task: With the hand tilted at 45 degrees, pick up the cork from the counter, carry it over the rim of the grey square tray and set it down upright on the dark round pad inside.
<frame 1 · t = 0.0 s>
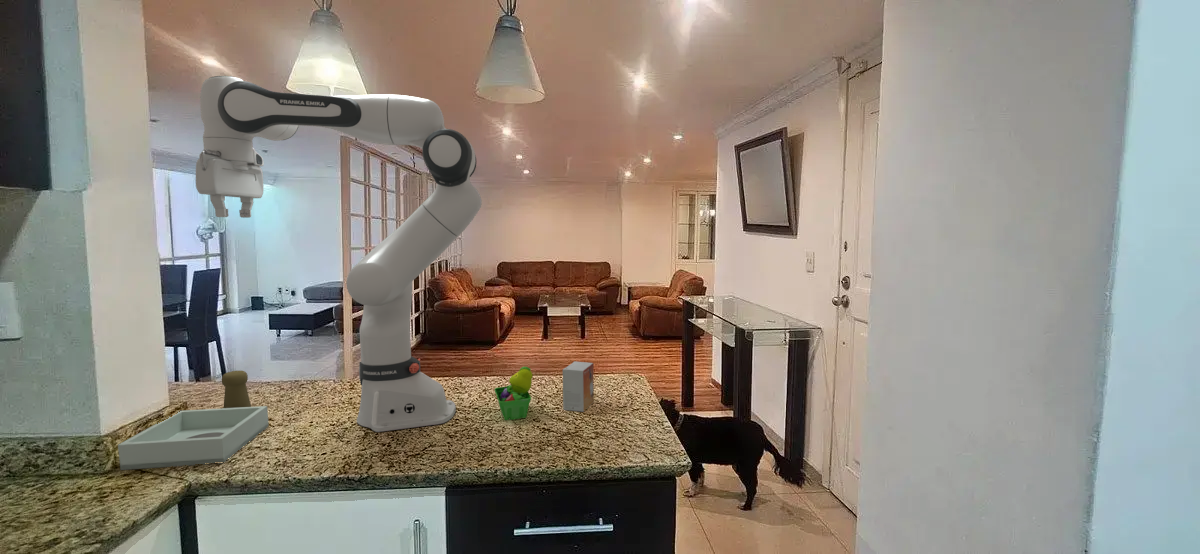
hand: (234, 217, 114), 48 cm above the worktop, tool pointing down, fingers open, 8 cm apart
fruit basket: (515, 413, 126), on the worktop
cork: (237, 416, 125), on the worktop
grey square tray: (201, 446, 108), on the worktop
small box: (578, 406, 131), on the worktop
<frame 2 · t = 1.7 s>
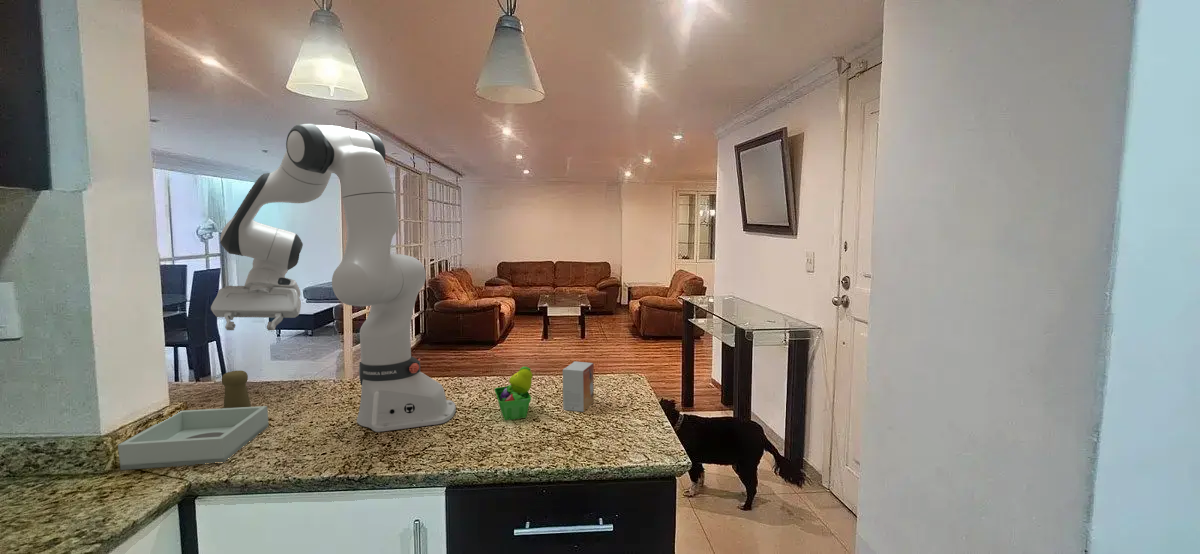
hand: (250, 329, 134), 19 cm above the worktop, tool tilted 45°, fingers open, 8 cm apart
nothing on the worktop moved.
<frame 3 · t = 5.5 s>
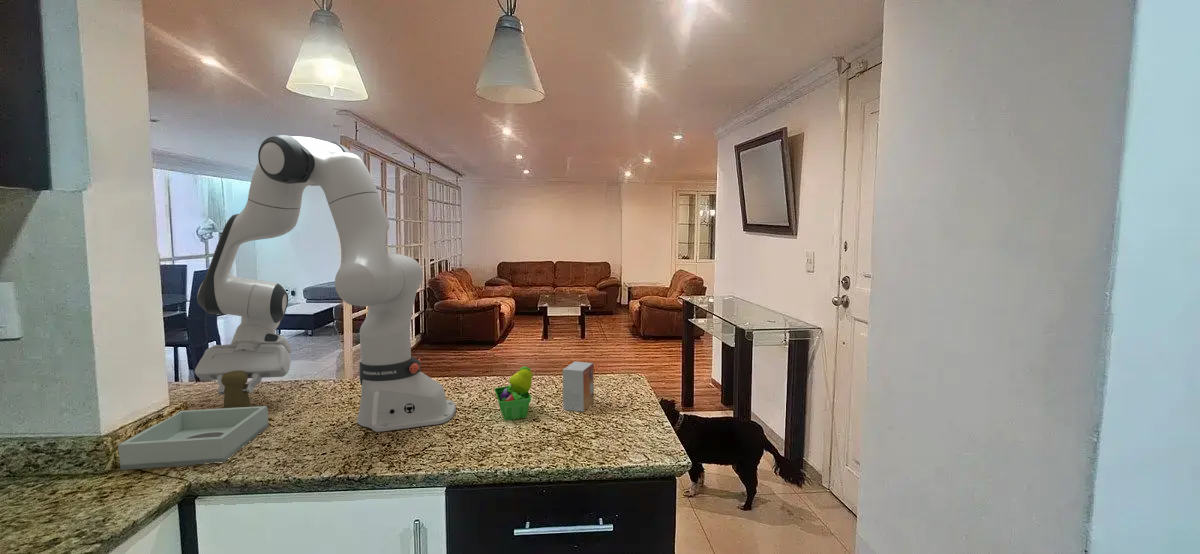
hand: (234, 393, 124), 6 cm above the worktop, tool tilted 45°, fingers closed on cork, 4 cm apart
cork: (237, 416, 125), on the worktop, touching gripper
everything else where it was.
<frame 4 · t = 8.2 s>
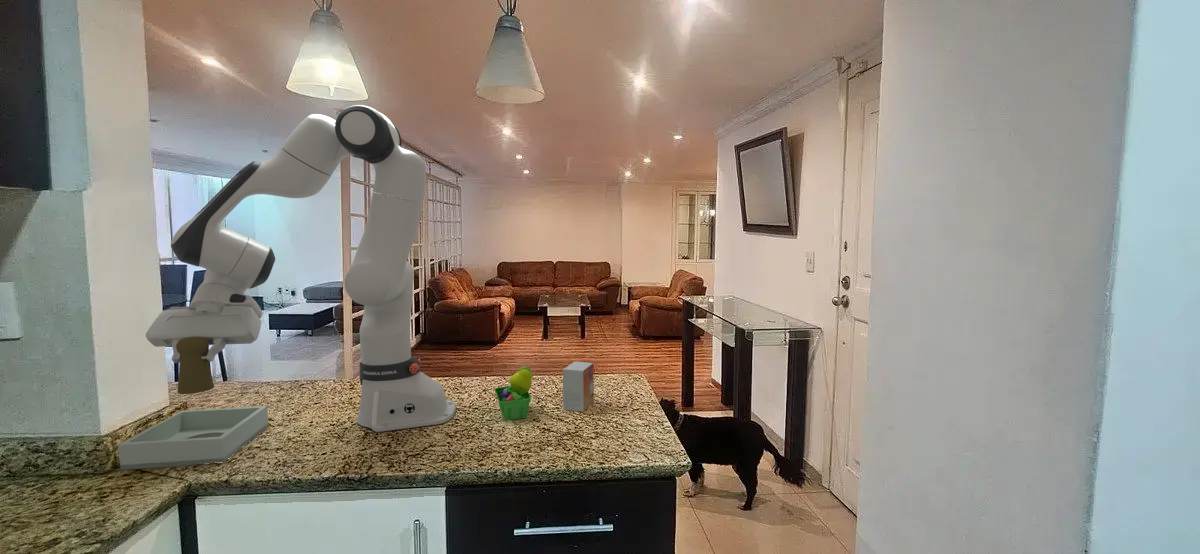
hand: (192, 360, 105), 19 cm above the worktop, tool tilted 45°, fingers closed on cork, 4 cm apart
cork: (196, 390, 107), point 12 cm above the worktop, touching gripper
everything else where it was.
when the fingers open (9 cm above the worktop, at t = 10.3 s): cork moves 3 cm, resting on grey square tray.
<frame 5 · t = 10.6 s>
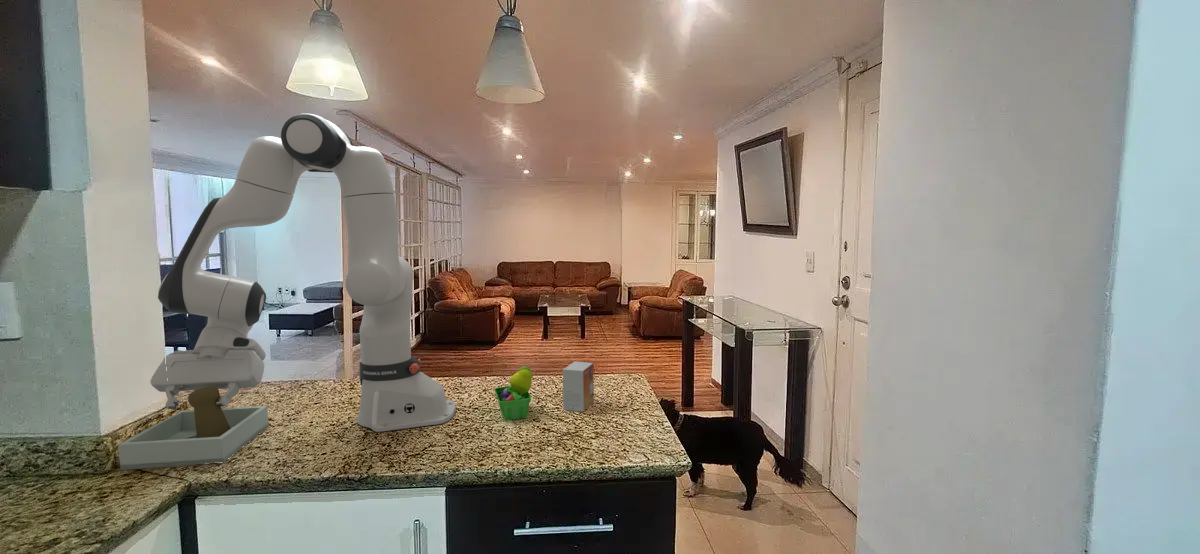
hand: (196, 406, 106), 9 cm above the worktop, tool tilted 45°, fingers open, 8 cm apart
cork: (215, 439, 108), point 2 cm above the worktop, touching grey square tray, gripper
everything else where it was.
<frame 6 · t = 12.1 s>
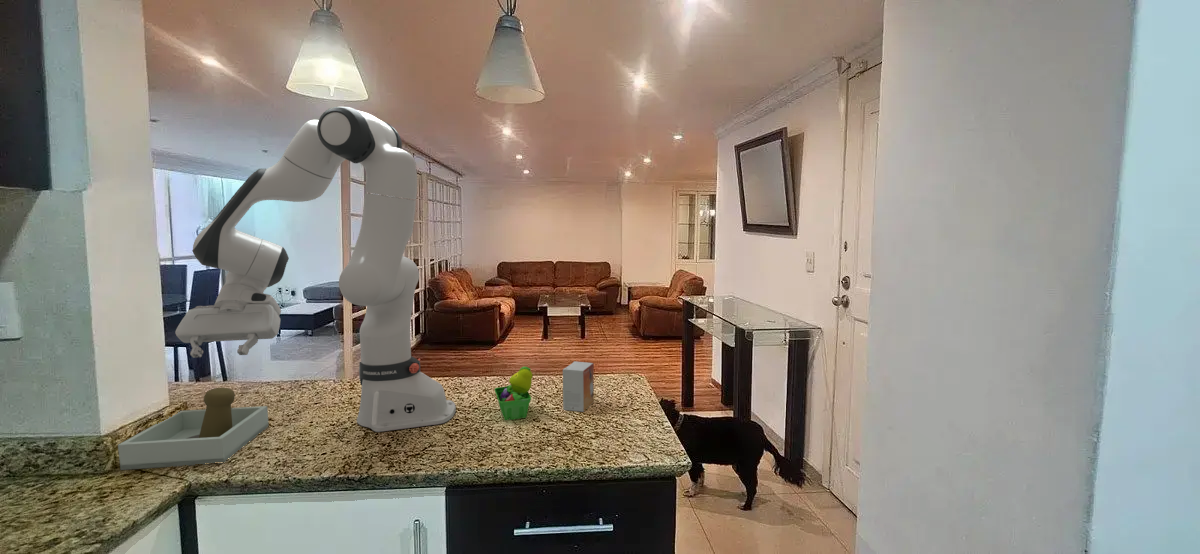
hand: (218, 355, 114), 17 cm above the worktop, tool tilted 45°, fingers open, 8 cm apart
cork: (215, 440, 108), point 1 cm above the worktop, touching grey square tray
everything else where it was.
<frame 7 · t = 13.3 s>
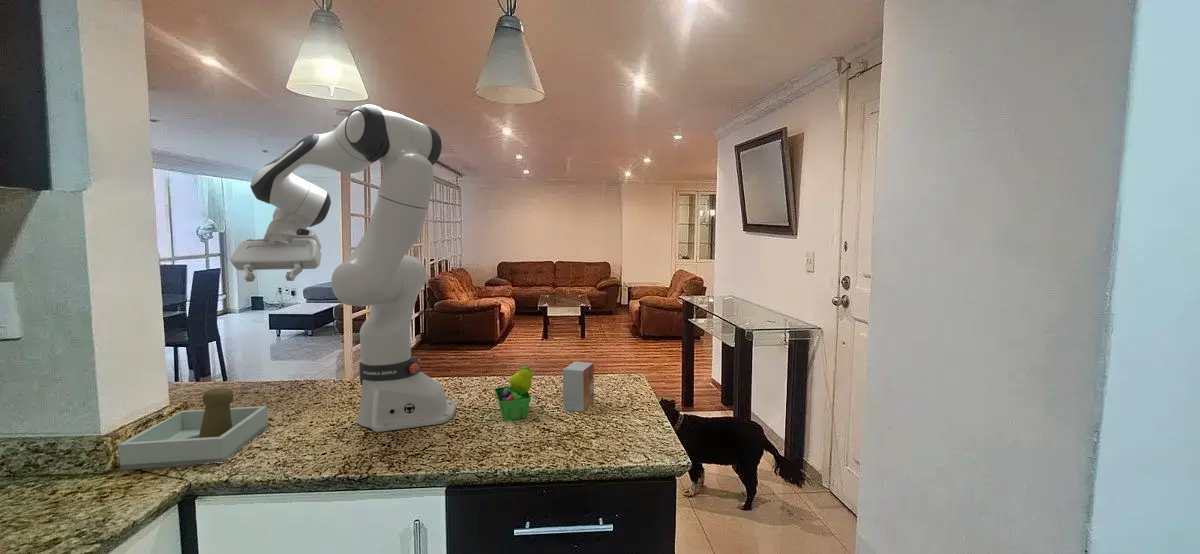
hand: (269, 279, 129), 33 cm above the worktop, tool tilted 45°, fingers open, 8 cm apart
nothing on the worktop moved.
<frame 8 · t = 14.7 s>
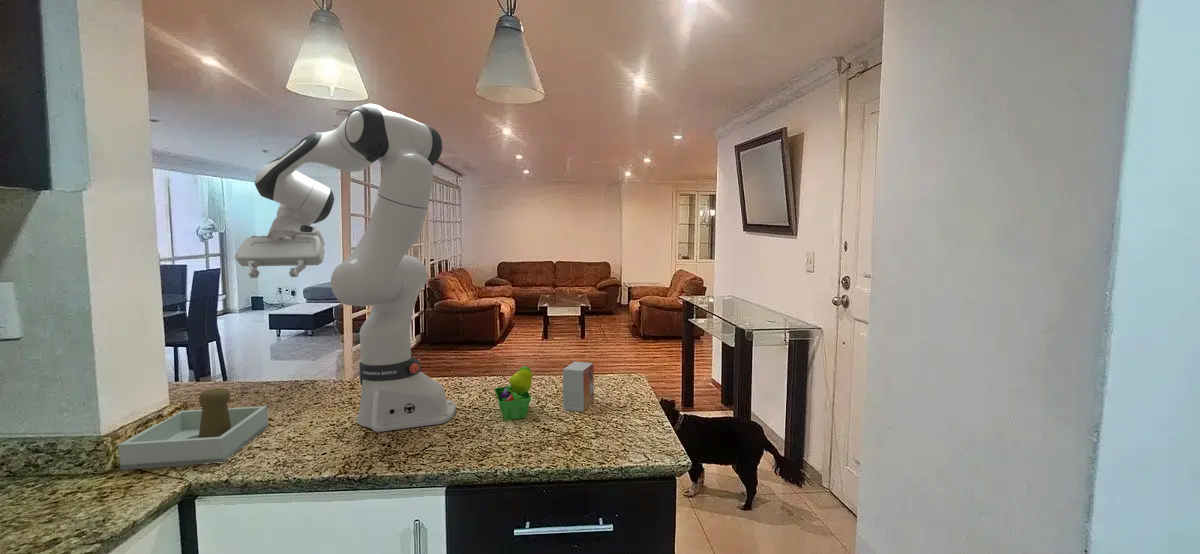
hand: (273, 276, 130), 33 cm above the worktop, tool tilted 45°, fingers open, 8 cm apart
nothing on the worktop moved.
at the end: cork inside the target area on the grey square tray (3.2 cm from its centre), point 1.1 cm above the grey square tray's base; cork tilted 4°; the gripper is holding nothing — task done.
